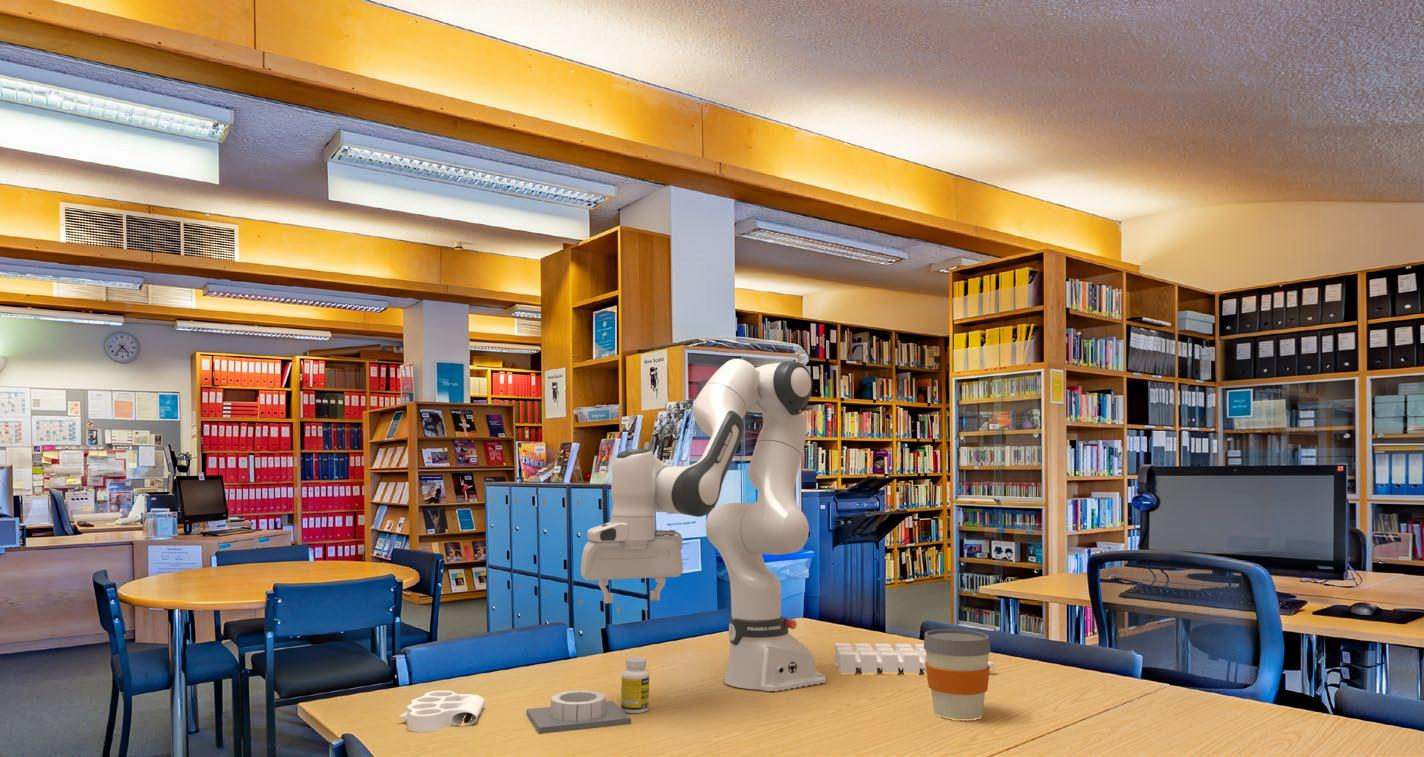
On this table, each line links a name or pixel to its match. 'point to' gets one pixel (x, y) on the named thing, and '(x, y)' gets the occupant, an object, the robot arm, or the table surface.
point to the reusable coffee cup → (957, 671)
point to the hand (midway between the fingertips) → (632, 601)
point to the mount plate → (577, 712)
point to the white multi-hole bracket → (441, 710)
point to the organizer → (881, 658)
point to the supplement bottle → (635, 686)
